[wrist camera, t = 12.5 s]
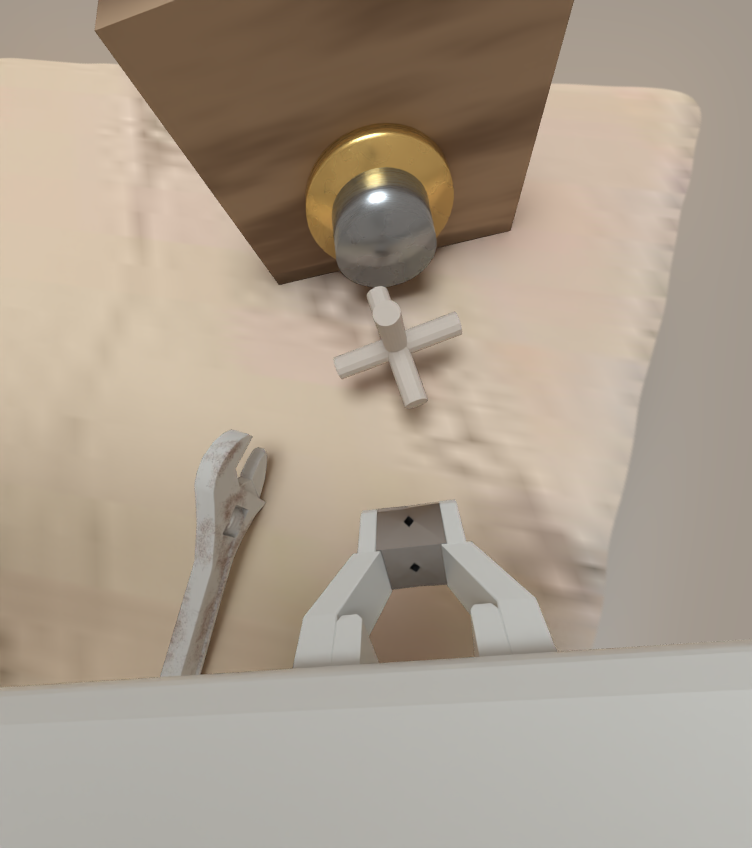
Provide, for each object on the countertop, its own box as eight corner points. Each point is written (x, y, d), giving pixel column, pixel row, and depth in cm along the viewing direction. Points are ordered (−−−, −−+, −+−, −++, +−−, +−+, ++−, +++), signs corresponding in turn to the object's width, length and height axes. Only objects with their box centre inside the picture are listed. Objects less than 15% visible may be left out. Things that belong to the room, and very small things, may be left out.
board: (510, 230, 32) (620, -169, 13) (278, 284, 36) (94, 30, 16) (489, 152, 35) (555, -282, 15) (274, 209, 38) (109, -88, 19)
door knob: (457, 285, 31) (470, 159, 20) (335, 311, 33) (282, 209, 21) (448, 241, 33) (455, 99, 21) (331, 268, 34) (278, 151, 23)
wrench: (175, 758, 30) (268, 434, 31) (192, 768, 29) (285, 439, 31) (78, 865, 22) (209, 425, 23) (99, 880, 21) (230, 432, 23)
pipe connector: (368, 436, 30) (335, 409, 21) (339, 342, 33) (297, 279, 23) (475, 399, 29) (492, 352, 19) (436, 304, 32) (434, 222, 22)
